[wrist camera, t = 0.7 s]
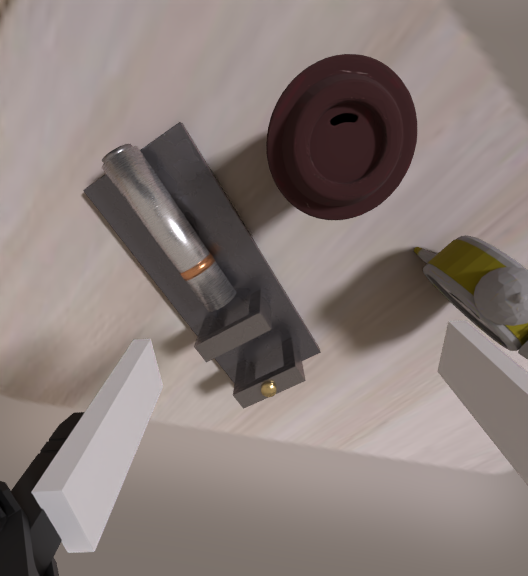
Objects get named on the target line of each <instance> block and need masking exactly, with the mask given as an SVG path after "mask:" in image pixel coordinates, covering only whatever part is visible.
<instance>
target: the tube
mask: <svg viewBox="0 0 528 576" xmlns="http://www.w3.org/2000/svg"><path fill="white" fill-rule="evenodd" d="M102 162H103V163H104V164H103V166H102V169H103V170H104V171H105V173H106V174H107V175H108V177H109V178H110V179H111V181H112V182H113V184H114V185H115V186H116V188H117V189H118V190H119V192H120V193H121V194H122V196H123V197H124V198H125V200H126V201H127V202H128V204H129V205H130V207H131V208H132V209H133V211H134V212H135V213H136V215H137V216H138V217H139V219H140V220H141V221H142V223H143V224H144V225H145V227H146V228H147V229H148V231H149V232H150V234H151V235H152V236H153V238H154V239H155V240H156V242H157V243H158V244H159V246H160V247H161V248H162V250H163V251H164V252H165V254H166V255H167V257H168V258H169V259H170V261H171V262H172V263H173V265H174V266H175V267H176V269H177V270H178V271H179V274H180V275H181V276H182V278H183V279H184V280H185V281H186V282H187V284H188V285H189V286H190V288H191V289H192V290H193V292H194V293H195V294H196V296H197V297H198V298H199V300H200V301H201V303H202V304H203V305H204V307H205V308H206V309H207V311H208V312H213V311H216V310H218V309H220V308H222V307H223V306H225V305H226V304H227V303H229V302H230V301H231V300H232V299H233V298H234V296H235V295H236V291H235V289H234V288H233V286H232V285H231V284H230V282H229V281H228V279H227V278H226V276H225V275H224V273H223V272H222V270H221V269H220V267H219V266H218V264H217V263H216V261H215V259H214V258H213V256H212V255H211V253H210V252H209V251H208V250H207V248H206V247H205V245H204V244H203V242H202V241H201V239H200V238H199V236H198V235H197V233H196V232H195V231H194V229H193V228H192V226H191V225H190V223H189V222H188V220H187V219H186V217H185V216H184V214H183V213H182V211H181V210H180V208H179V207H178V205H177V204H176V203H175V201H174V200H173V198H172V197H171V195H170V194H169V192H168V191H167V189H166V188H165V186H164V185H163V183H162V182H161V180H160V179H159V177H158V176H157V175H156V173H155V172H154V170H153V169H152V167H151V166H150V164H149V163H148V161H147V160H146V158H145V157H144V155H143V154H142V152H141V151H140V150H139V148H138V147H137V146H134V147H133V146H132V145H131V144H125V145H122V146H120V147H118V148H116V149H114V150H113V151H111V152H110V153H108V154H107V155H106V156H105V157H104V158H103V159H102Z"/></svg>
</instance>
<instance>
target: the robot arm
mask: <svg viewBox="0 0 528 576" xmlns="http://www.w3.org/2000/svg"><path fill="white" fill-rule="evenodd" d="M438 373H439V374H440V375H441V376H442V378H443V379H444V380H445V382H446V383H447V384H448V385H449V387H450V388H451V389H452V390H453V392H454V393H455V394H456V395H457V397H458V398H459V399H460V401H461V402H462V403H463V404H464V406H465V407H466V408H467V409H468V411H469V412H470V413H471V414H472V416H473V417H474V418H475V420H476V421H477V422H478V423H479V425H480V426H481V427H482V428H483V430H484V431H485V432H486V433H487V435H488V436H489V437H490V438H491V440H492V441H493V442H494V444H495V445H496V446H497V447H498V449H499V450H500V451H501V452H502V454H503V455H504V456H505V457H506V459H507V460H508V461H509V463H510V464H511V465H512V466H513V468H514V469H515V470H516V471H517V473H518V474H519V475H520V476H521V478H522V479H523V480H524V481H525V483H526V484H527V485H528V372H527V371H526V370H525V369H524V368H523V367H521V366H520V365H519V364H518V363H517V362H515V361H514V360H513V359H512V358H511V357H509V356H508V355H507V354H506V353H505V352H503V351H502V350H501V349H500V348H499V347H497V346H496V345H495V344H494V343H493V342H492V341H490V340H489V339H488V338H487V337H486V336H484V335H483V334H482V333H481V332H480V331H478V330H477V329H476V328H475V327H474V326H472V325H471V324H470V323H469V322H468V321H466V320H461V321H448V325H447V330H446V335H445V339H444V344H443V348H442V353H441V358H440V362H439V367H438ZM162 388H163V384H162V380H161V376H160V372H159V368H158V365H157V361H156V357H155V353H154V349H153V345H152V342H151V339H134V340H133V341H132V343H131V344H130V346H129V347H128V349H127V350H126V352H125V353H124V355H123V356H122V358H121V359H120V361H119V362H118V364H117V365H116V367H115V368H114V370H113V371H112V373H111V374H110V376H109V377H108V379H107V380H106V381H105V383H104V384H103V386H102V387H101V389H100V390H99V392H98V393H97V395H96V396H95V398H94V399H93V401H92V402H91V404H90V405H89V407H88V408H87V410H86V411H85V412H81V413H73V414H72V415H71V416H70V417H68V418H67V419H66V420H65V421H63V422H62V423H61V424H60V425H59V426H58V428H57V429H56V430H55V432H54V433H53V434H52V436H51V437H50V438H49V442H46V444H45V445H44V447H43V448H42V449H41V452H40V454H38V455H37V456H36V458H35V459H34V460H33V462H32V463H31V464H30V466H29V467H28V469H27V470H26V471H25V473H24V474H23V475H22V477H21V478H20V479H19V481H18V482H17V483H16V485H15V486H14V488H13V489H12V491H10V489H9V488H8V486H7V485H6V483H5V482H2V481H0V576H59V574H58V568H57V563H56V561H55V559H54V555H55V552H56V551H57V549H58V547H59V545H60V543H61V542H62V544H63V545H64V547H65V549H66V550H67V552H68V553H72V552H73V553H75V552H95V549H96V547H97V544H98V542H99V540H100V537H101V535H102V532H103V530H104V528H105V525H106V523H107V521H108V518H109V516H110V513H111V511H112V508H113V506H114V504H115V501H116V499H117V496H118V494H119V491H120V489H121V487H122V484H123V482H124V479H125V477H126V475H127V472H128V470H129V467H130V465H131V462H132V460H133V458H134V455H135V453H136V451H137V448H138V445H139V443H140V441H141V439H142V436H143V434H144V431H145V429H146V426H147V424H148V422H149V419H150V417H151V414H152V412H153V410H154V407H155V405H156V402H157V400H158V398H159V395H160V393H161V390H162Z"/></svg>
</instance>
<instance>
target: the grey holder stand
mask: <svg viewBox="0 0 528 576" xmlns="http://www.w3.org/2000/svg"><path fill="white" fill-rule="evenodd" d="M140 151H141V152H142V154H143V155H144V157H145V158H146V160H147V161H148V163H149V164H150V166H151V167H152V169H153V170H154V172H155V173H156V175H157V176H158V177H159V179H160V180H161V182H162V183H163V185H164V186H165V188H166V189H167V191H168V192H169V194H170V195H171V197H172V198H173V200H174V201H175V203H176V204H177V205H178V207H179V208H180V210H181V211H182V213H183V214H184V216H185V217H186V219H187V220H188V222H189V223H190V225H191V226H192V228H193V229H194V231H195V232H196V233H197V235H198V236H199V238H200V239H201V241H202V242H203V244H204V245H205V247H206V248H207V250H208V251H209V252H210V253H211V255H212V256H213V258H214V259H215V261H216V263H217V264H218V266H219V267H220V269H221V270H222V272H223V273H224V275H225V276H226V278H227V279H228V281H229V282H230V284H231V285H232V286H233V288H234V289H235V291H236V295H235V296H234V298H233V299H232V300H231V301H230V302H229V303H227V304H226V305H225V306H223V307H222V308H220V309H218V310H216V311H213V312H208V311H207V309H206V308H205V307H204V305H203V304H202V303H201V301H200V300H199V298H198V297H197V296H196V294H195V293H194V292H193V290H192V289H191V288H190V286H189V285H188V284H187V282H186V281H185V280H184V279H183V278H182V276H181V275H180V274H179V271H178V270H177V269H176V267H175V266H174V265H173V263H172V262H171V261H170V259H169V258H168V257H167V255H166V254H165V252H164V251H163V250H162V248H161V247H160V246H159V244H158V243H157V242H156V240H155V239H154V238H153V236H152V235H151V234H150V232H149V231H148V229H147V228H146V227H145V225H144V224H143V223H142V221H141V220H140V219H139V217H138V216H137V215H136V213H135V212H134V211H133V209H132V208H131V207H130V205H129V204H128V202H127V201H126V200H125V198H124V197H123V196H122V194H121V193H120V192H119V190H118V189H117V188H116V186H115V185H114V184H113V182H112V181H111V179H110V178H109V177H108V175H107V174H106V175H104V176H103V177H102V178H100V179H99V180H97V181H96V182H94V183H93V184H92V185H90V186H89V187H87V188H86V189H85V190H83V191H84V192H85V193H86V195H87V196H88V197H89V198H90V200H91V201H92V202H93V204H94V205H95V206H96V207H97V209H98V210H99V211H100V212H101V214H102V215H103V216H104V218H105V219H106V220H107V221H108V223H109V224H110V225H111V227H112V228H113V229H114V230H115V232H116V233H117V234H118V235H119V237H120V238H121V239H122V241H123V242H124V243H125V244H126V246H127V247H128V248H129V249H130V251H131V252H132V253H133V255H134V256H135V257H136V258H137V260H138V261H139V262H140V264H141V265H142V266H143V267H144V269H145V270H146V271H147V272H148V274H149V275H150V276H151V278H152V279H153V280H154V281H155V283H156V284H157V285H158V286H159V288H160V289H161V290H162V292H163V293H164V294H165V295H166V297H167V298H168V299H169V301H170V302H171V303H172V304H173V306H174V307H175V308H176V309H177V311H178V312H179V313H180V315H181V316H182V317H183V318H184V320H185V321H186V322H187V324H188V325H189V326H190V327H191V329H192V330H193V331H194V332H195V334H196V335H197V336H198V337H197V340H196V343H195V346H194V347H195V349H196V350H197V351H198V352H199V354H200V355H201V356H202V357H203V359H204V360H205V361H206V362H208V361H210V360H212V359H214V358H215V359H216V361H217V362H218V363H219V364H220V366H221V367H222V368H223V369H224V371H225V372H226V373H227V375H228V376H229V377H230V378H231V380H232V381H233V382H234V391H233V396H234V397H235V398H236V400H237V401H238V402H239V403H240V405H241V406H242V407H243V408H246V407H248V406H250V405H252V404H255V403H257V402H259V401H261V400H264V399H266V398H268V397H272V396H274V395H275V394H277V393H279V392H281V391H284V390H286V389H288V388H290V387H293V386H295V385H297V384H299V383H301V382H304V381H305V376H304V370H303V365H302V361H303V360H305V359H307V358H310V357H312V356H314V355H316V354H318V353H320V348H319V347H318V345H317V343H316V342H315V340H314V338H313V337H312V335H311V334H310V332H309V330H308V329H307V327H306V325H305V324H304V322H303V320H302V319H301V317H300V315H299V314H298V312H297V311H296V309H295V307H294V306H293V304H292V302H291V301H290V299H289V297H288V296H287V294H286V292H285V291H284V289H283V288H282V286H281V284H280V283H279V281H278V279H277V278H276V276H275V274H274V273H273V271H272V270H271V268H270V266H269V265H268V263H267V261H266V260H265V258H264V256H263V255H262V253H261V251H260V250H259V248H258V247H257V245H256V243H255V242H254V240H253V238H252V237H251V235H250V233H249V232H248V230H247V229H246V227H245V225H244V224H243V222H242V220H241V219H240V217H239V215H238V214H237V212H236V210H235V209H234V207H233V206H232V204H231V202H230V201H229V199H228V197H227V196H226V194H225V192H224V191H223V189H222V187H221V186H220V184H219V183H218V181H217V179H216V178H215V176H214V174H213V173H212V171H211V169H210V168H209V166H208V165H207V163H206V161H205V160H204V158H203V156H202V155H201V153H200V151H199V150H198V148H197V146H196V145H195V143H194V142H193V140H192V138H191V137H190V135H189V133H188V132H187V130H186V128H185V127H184V125H183V124H182V123H181V122H179V123H178V124H176V125H175V126H173V127H172V128H171V129H169V130H168V131H166V132H165V133H164V134H162V135H161V136H159V137H158V138H157V139H155V140H154V141H152V142H151V143H149V144H148V145H147V146H145V147H144V148H142V149H141V150H140Z"/></svg>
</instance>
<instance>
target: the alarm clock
mask: <svg viewBox="0 0 528 576" xmlns="http://www.w3.org/2000/svg"><path fill="white" fill-rule="evenodd" d="M414 252H415V253H416V254H417V255H418V256H419V257H420V258H421V259H422V260H423V261H424V262H425V263H426V264H427V265H426V266H425V267H424V269H423V272H424V274H425V276H426V277H427V278H428V279H429V281H430V282H431V283H432V284H433V285H434V286H435V287H436V288H437V289H438V290H439V291H440V292H441V293H442V294H443V295H444V296H445V297H446V298H447V299H448V300H449V301H450V302H451V303H452V304H453V305H454V306H455V307H456V308H457V309H459V310H460V311H461V312H462V313H463V314H464V315H465V316H466V317H467V318H469V319H470V320H471V321H472V322H473V323H474V324H475V325H477V326H478V327H479V328H480V329H481V330H482V331H484V332H485V333H486V334H487V335H488V336H490V337H491V338H492V339H494V340H495V341H496V342H497V343H499V344H500V345H502V346H503V347H505V348H506V349H508V350H510V351H517V350H519V351H518V353H519V354H520V355H522V356H523V357H525V358H526V359H528V270H527V269H526V268H524V267H523V266H522V265H521V264H520V263H518V262H517V261H516V260H514V259H513V258H511V257H510V256H508V255H507V254H505V253H504V252H502V251H500V250H499V249H497V248H496V247H494V246H492V245H490V244H488V243H486V242H484V241H482V240H480V239H478V238H475V237H471V236H461V237H458V238H457V239H456V240H453V241H452V242H451V243H450V244H449V245H448V246H446V247H445V248H444V249H443V250H442V251H441V252H439V253H438V254H436V253H433V252H430V251H428V250H425V249H422V248H419V247H416V248H415V249H414Z"/></svg>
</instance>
